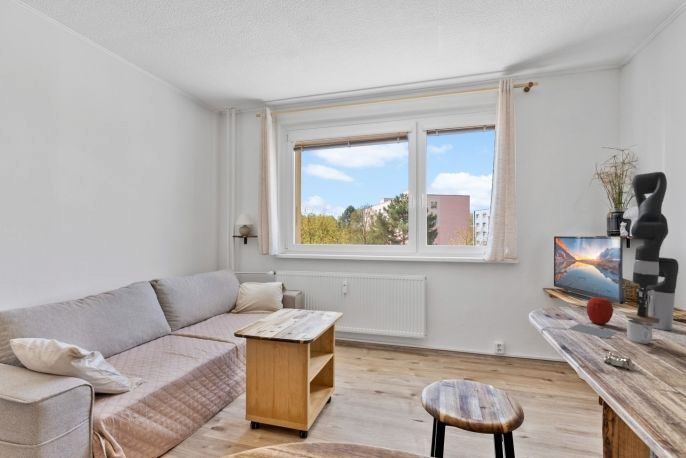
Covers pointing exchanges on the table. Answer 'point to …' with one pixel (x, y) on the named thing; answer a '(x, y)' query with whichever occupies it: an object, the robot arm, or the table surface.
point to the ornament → (620, 361)
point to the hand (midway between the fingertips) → (642, 315)
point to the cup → (639, 331)
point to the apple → (599, 310)
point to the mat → (592, 331)
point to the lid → (643, 317)
